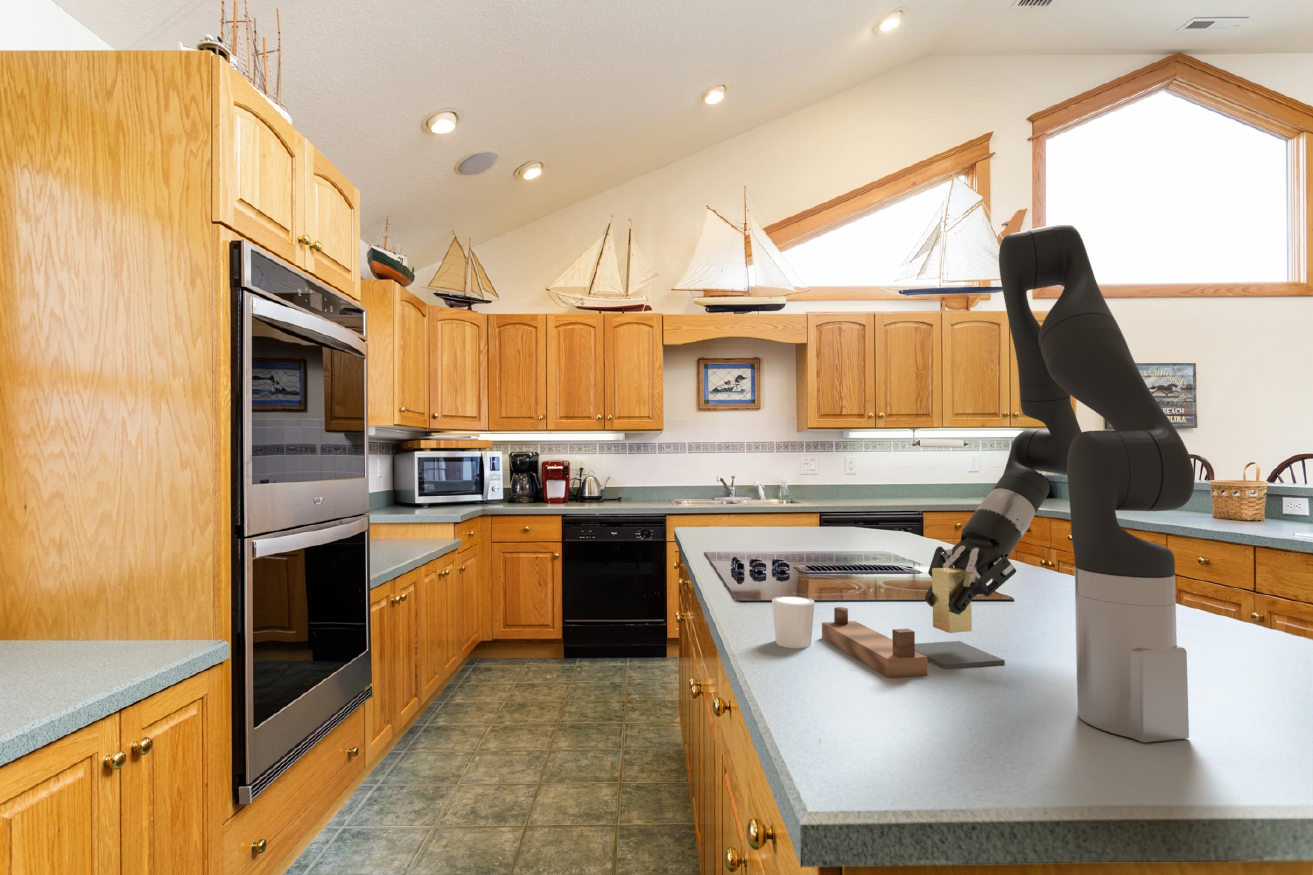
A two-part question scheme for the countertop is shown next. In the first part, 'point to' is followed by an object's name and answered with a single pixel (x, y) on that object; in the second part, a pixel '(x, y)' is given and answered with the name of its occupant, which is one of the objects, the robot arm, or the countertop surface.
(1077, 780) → the countertop surface
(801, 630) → the white cup
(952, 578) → the pale wooden block
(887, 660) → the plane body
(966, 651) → the mat
